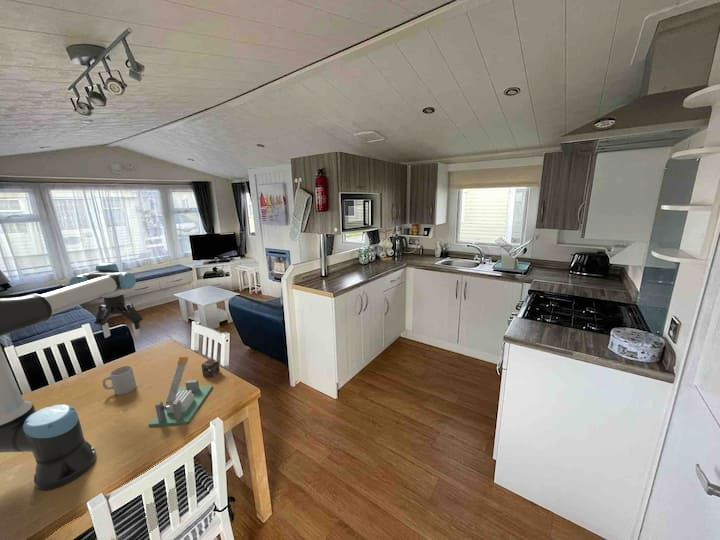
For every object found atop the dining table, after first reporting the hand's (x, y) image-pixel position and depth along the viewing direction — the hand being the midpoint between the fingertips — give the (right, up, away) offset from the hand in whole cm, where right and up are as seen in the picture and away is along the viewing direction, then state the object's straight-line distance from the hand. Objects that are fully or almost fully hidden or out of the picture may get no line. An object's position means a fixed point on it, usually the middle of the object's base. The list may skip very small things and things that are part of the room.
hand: (122, 335), depth 137 cm
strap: (+36, -18, -13) cm, 42 cm away
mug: (-2, -29, +2) cm, 29 cm away
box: (+36, -25, +15) cm, 47 cm away
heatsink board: (+36, -30, -8) cm, 48 cm away
